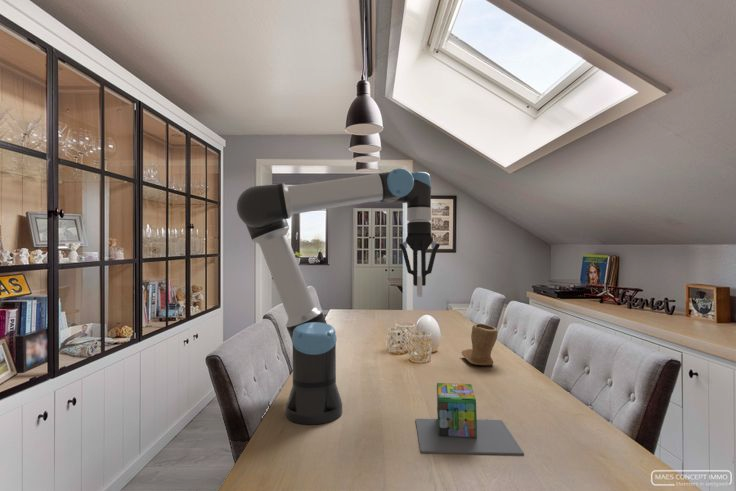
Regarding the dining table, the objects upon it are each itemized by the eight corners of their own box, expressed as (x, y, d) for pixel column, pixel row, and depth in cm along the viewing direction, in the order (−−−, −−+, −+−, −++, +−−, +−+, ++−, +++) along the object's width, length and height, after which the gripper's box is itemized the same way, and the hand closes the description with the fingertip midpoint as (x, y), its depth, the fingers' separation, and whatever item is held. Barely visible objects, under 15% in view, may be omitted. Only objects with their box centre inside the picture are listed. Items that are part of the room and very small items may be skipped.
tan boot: (501, 367, 152) (501, 327, 152) (469, 367, 152) (469, 327, 152) (489, 357, 167) (489, 320, 167) (460, 357, 167) (460, 320, 167)
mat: (420, 452, 88) (420, 451, 88) (415, 420, 105) (415, 418, 105) (523, 454, 87) (523, 453, 87) (501, 421, 104) (501, 420, 104)
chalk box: (472, 418, 105) (480, 446, 91) (436, 416, 107) (438, 444, 92) (472, 382, 105) (479, 405, 91) (436, 381, 107) (437, 403, 92)
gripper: (438, 222, 133) (438, 294, 132) (398, 222, 133) (398, 294, 133) (441, 220, 125) (441, 297, 125) (398, 221, 126) (399, 297, 126)
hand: (419, 296), depth 129 cm, fingers closed
